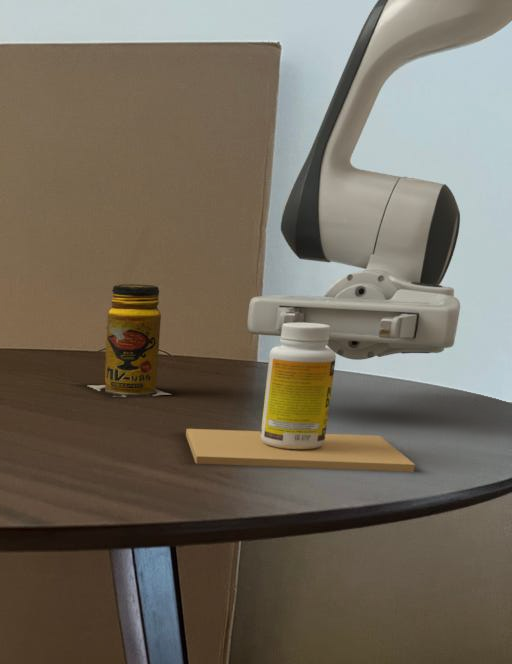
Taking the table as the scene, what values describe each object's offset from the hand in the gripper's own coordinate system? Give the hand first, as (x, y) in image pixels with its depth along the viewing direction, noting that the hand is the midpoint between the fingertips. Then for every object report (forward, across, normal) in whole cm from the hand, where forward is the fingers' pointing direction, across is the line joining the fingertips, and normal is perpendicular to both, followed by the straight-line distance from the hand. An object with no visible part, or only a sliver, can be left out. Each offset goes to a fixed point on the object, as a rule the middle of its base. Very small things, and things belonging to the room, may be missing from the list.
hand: (336, 325), depth 97 cm
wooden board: (+11, 0, +10) cm, 15 cm away
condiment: (-13, -26, +10) cm, 30 cm away
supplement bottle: (+11, 0, +10) cm, 15 cm away
